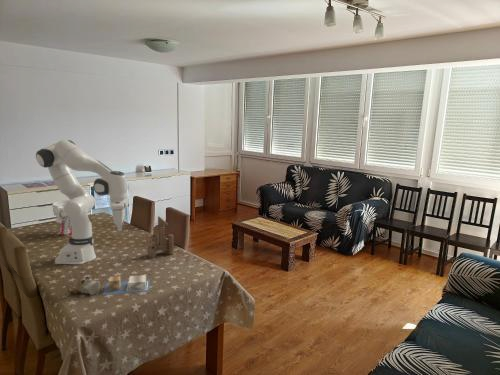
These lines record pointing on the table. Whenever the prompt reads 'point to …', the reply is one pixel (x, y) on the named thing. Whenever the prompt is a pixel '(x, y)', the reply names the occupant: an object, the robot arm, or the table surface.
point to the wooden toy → (160, 240)
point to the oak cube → (114, 283)
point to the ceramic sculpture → (86, 286)
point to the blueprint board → (124, 288)
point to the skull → (62, 217)
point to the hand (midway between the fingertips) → (120, 228)
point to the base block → (137, 282)
